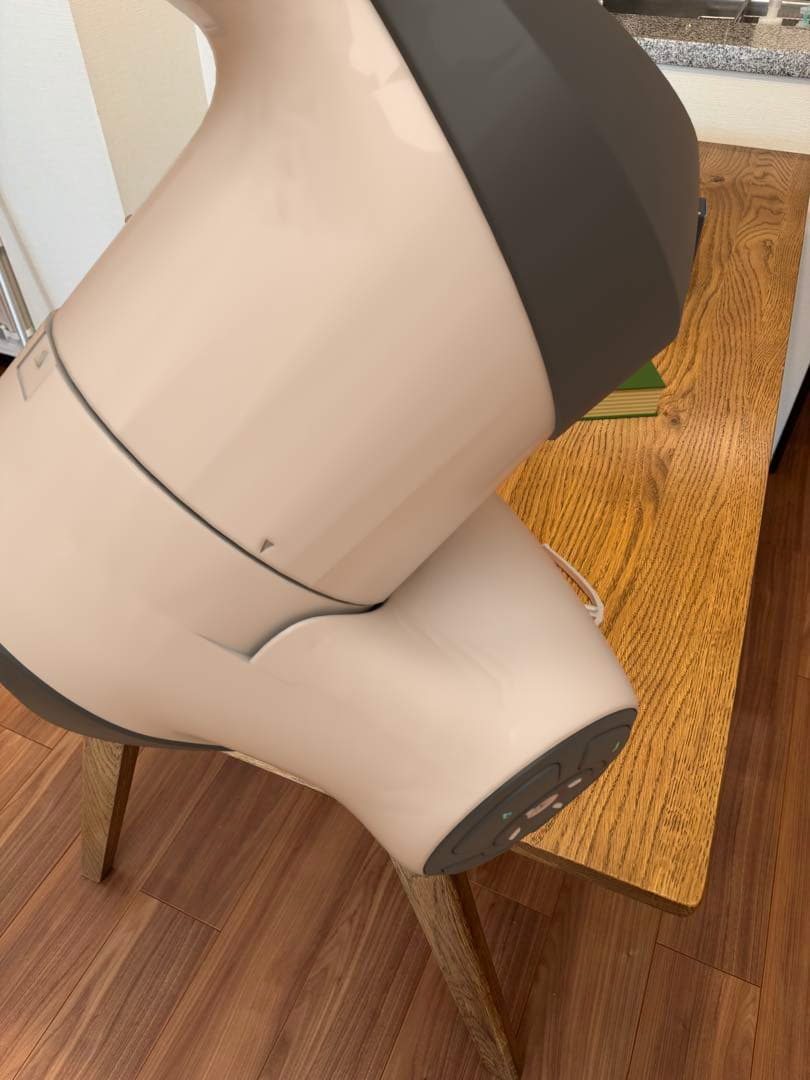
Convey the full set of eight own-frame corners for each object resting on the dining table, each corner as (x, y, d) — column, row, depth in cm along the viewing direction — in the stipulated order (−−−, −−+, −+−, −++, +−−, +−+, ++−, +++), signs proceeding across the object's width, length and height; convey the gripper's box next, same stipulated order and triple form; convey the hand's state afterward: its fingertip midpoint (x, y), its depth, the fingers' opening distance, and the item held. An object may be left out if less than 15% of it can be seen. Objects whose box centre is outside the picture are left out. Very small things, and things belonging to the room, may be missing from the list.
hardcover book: (608, 324, 95) (614, 296, 93) (657, 416, 82) (666, 386, 80) (404, 335, 94) (404, 306, 91) (422, 430, 81) (422, 400, 78)
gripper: (552, 322, 31) (400, 198, 40) (13, 470, 25) (-27, 284, 34) (534, 447, 36) (401, 311, 44) (73, 599, 29) (24, 405, 38)
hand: (213, 300), depth 39 cm, fingers open, 8 cm apart
